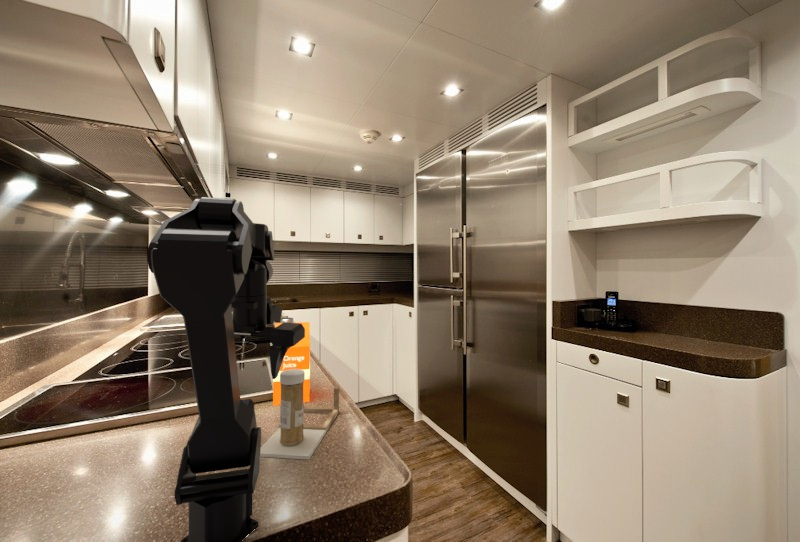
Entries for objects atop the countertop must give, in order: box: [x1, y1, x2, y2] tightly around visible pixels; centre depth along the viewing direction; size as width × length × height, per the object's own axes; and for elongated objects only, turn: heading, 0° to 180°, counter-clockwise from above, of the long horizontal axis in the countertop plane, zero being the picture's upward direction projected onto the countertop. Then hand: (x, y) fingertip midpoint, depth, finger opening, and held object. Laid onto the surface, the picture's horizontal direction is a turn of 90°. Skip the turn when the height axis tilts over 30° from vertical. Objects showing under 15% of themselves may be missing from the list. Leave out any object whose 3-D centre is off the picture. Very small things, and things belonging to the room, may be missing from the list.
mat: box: [260, 428, 328, 460], centre depth 63 cm, size 10×10×1 cm
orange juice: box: [272, 321, 311, 407], centre depth 86 cm, size 8×9×20 cm
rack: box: [278, 386, 340, 431], centre depth 73 cm, size 10×10×6 cm
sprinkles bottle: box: [279, 369, 305, 446], centre depth 63 cm, size 5×5×14 cm
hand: (251, 376), depth 61 cm, fingers open, 9 cm apart
